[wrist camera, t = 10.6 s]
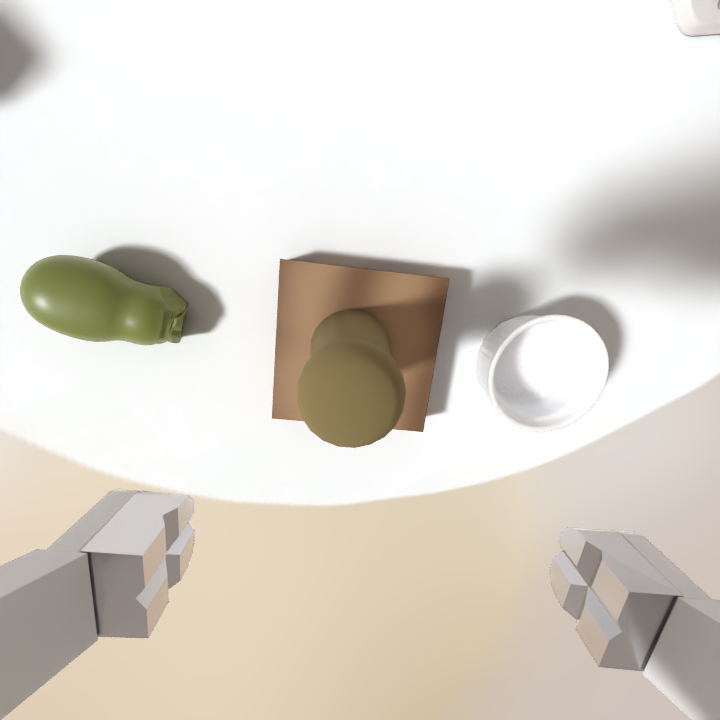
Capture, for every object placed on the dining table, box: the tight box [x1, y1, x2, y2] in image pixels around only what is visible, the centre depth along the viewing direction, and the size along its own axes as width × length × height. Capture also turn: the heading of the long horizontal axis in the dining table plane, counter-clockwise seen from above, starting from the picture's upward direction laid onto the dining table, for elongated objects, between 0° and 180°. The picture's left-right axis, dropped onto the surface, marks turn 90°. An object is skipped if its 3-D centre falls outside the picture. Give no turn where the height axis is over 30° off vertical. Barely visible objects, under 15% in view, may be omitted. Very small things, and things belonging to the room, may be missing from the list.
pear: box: [20, 255, 187, 345], centre depth 24 cm, size 6×5×10 cm
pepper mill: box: [297, 309, 406, 448], centre depth 20 cm, size 6×6×11 cm
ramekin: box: [476, 314, 609, 432], centre depth 27 cm, size 9×9×4 cm
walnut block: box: [272, 259, 449, 432], centre depth 27 cm, size 12×12×2 cm
